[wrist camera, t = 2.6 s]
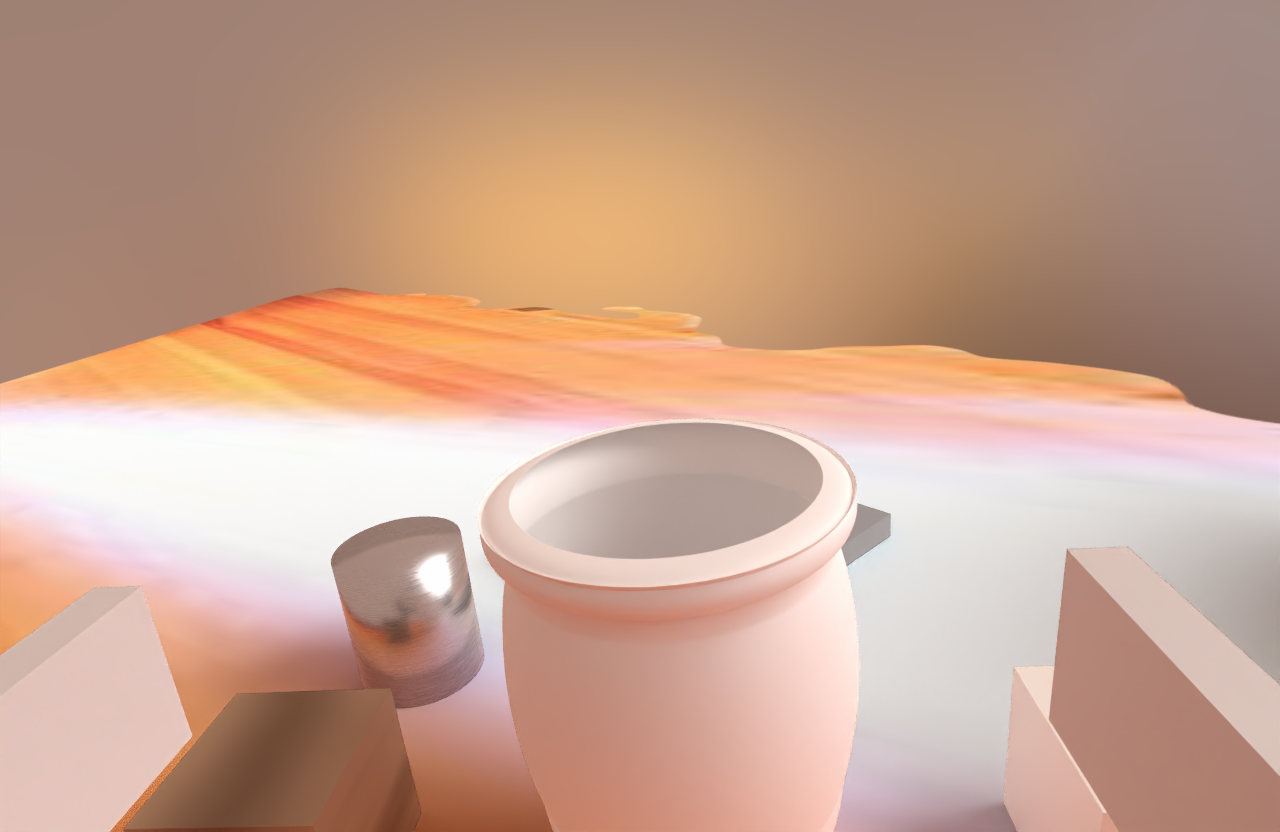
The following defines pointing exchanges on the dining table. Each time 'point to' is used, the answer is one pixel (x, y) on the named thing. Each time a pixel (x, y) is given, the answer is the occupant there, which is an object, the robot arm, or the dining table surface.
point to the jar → (680, 626)
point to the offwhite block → (1045, 766)
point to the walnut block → (291, 769)
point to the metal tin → (410, 609)
